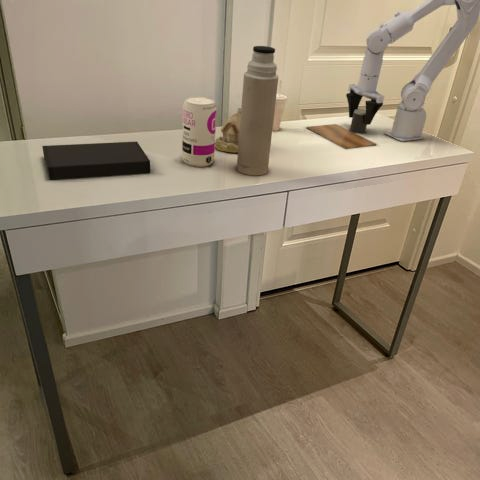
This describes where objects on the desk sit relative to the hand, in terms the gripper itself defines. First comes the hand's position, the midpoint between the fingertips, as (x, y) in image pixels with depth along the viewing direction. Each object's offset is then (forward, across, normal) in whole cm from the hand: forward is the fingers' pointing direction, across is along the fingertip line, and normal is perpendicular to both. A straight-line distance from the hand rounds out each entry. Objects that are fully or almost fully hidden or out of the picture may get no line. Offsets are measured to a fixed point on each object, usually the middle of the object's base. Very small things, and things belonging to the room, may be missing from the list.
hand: (359, 120), depth 161 cm
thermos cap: (+3, 0, 0) cm, 3 cm away
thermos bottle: (+4, +19, -51) cm, 54 cm away
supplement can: (+4, +10, -62) cm, 63 cm away
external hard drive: (+4, +5, -87) cm, 87 cm away
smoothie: (+3, -9, -27) cm, 29 cm away
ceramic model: (+4, +2, -46) cm, 46 cm away
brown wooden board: (+3, +3, -9) cm, 10 cm away
